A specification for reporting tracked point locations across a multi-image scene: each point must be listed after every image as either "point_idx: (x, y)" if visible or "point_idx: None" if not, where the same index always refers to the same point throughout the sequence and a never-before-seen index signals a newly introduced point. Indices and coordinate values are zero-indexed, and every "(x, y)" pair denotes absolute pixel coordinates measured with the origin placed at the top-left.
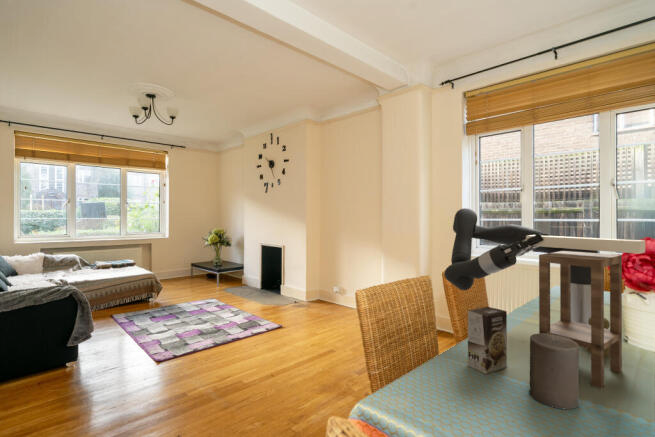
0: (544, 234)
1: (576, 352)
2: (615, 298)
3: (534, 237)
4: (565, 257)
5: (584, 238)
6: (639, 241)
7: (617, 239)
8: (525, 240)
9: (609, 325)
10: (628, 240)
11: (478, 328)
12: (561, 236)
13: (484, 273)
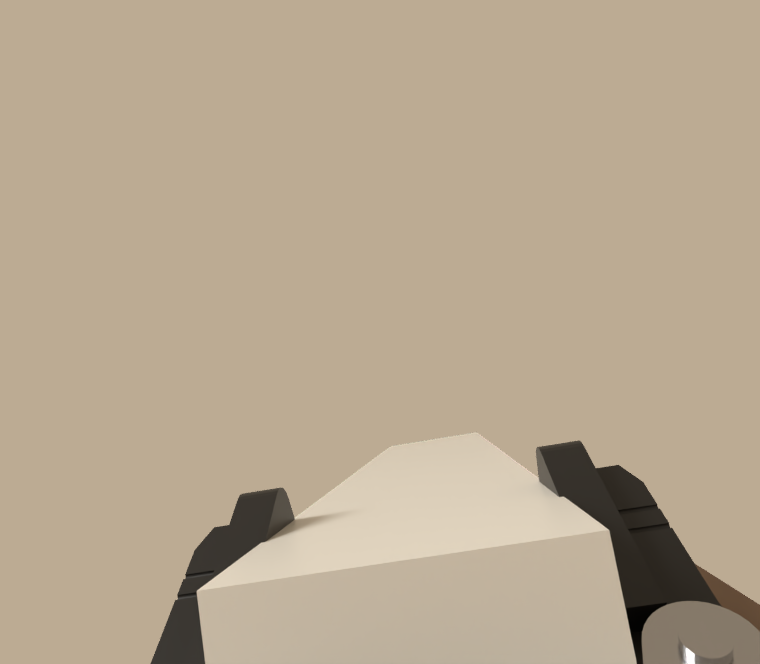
0: (274, 511)
1: None
2: None
3: (651, 501)
4: (733, 590)
5: (484, 446)
6: (476, 432)
7: (416, 447)
8: (743, 639)
9: None
10: (454, 438)
11: None
12: (346, 490)
13: None
